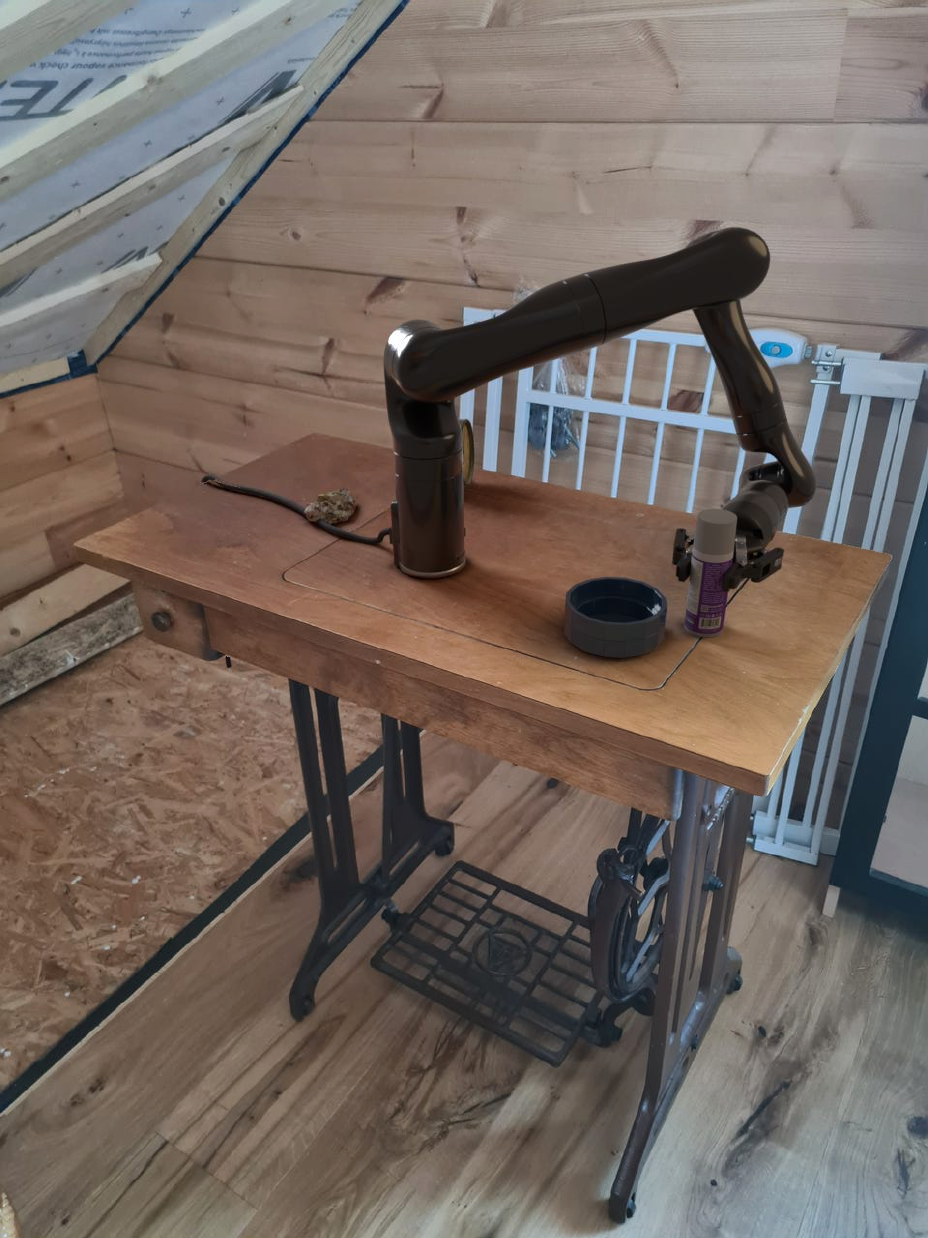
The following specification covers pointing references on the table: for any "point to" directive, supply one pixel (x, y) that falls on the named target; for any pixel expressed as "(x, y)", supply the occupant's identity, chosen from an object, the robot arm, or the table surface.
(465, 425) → the alarm clock
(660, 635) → the bowl
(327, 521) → the mineral rock
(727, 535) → the container
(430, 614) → the table surface
